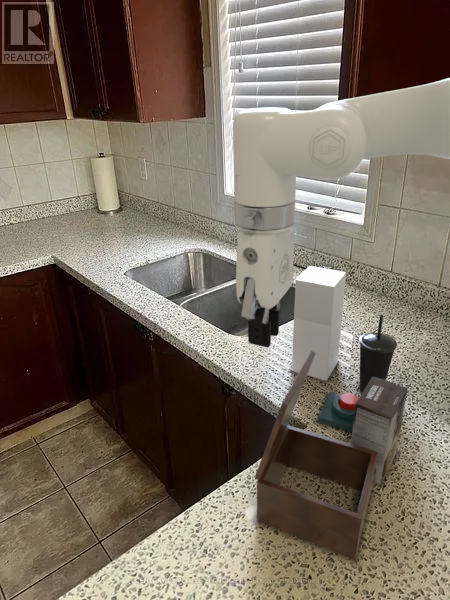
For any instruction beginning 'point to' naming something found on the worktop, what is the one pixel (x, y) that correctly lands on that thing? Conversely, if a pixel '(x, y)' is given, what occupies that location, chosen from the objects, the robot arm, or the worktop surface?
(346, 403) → the button
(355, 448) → the chest
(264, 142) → the robot arm
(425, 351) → the worktop surface
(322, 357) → the tall white carton
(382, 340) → the drinking cup
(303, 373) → the lid
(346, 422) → the red push button base
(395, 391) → the coffee box
